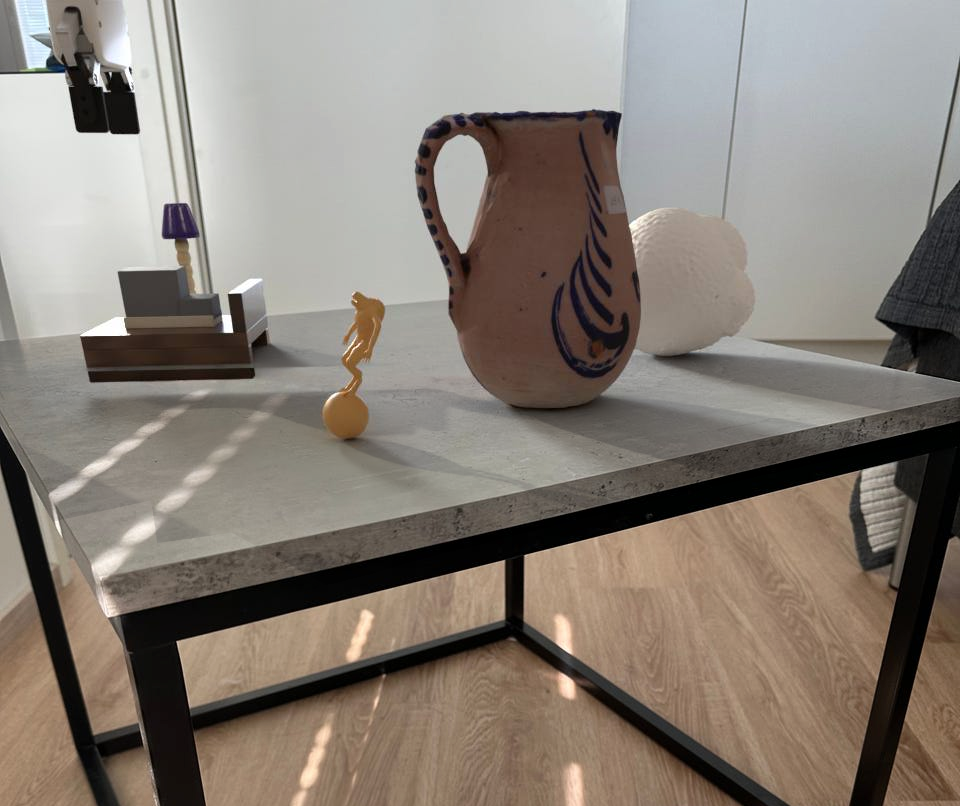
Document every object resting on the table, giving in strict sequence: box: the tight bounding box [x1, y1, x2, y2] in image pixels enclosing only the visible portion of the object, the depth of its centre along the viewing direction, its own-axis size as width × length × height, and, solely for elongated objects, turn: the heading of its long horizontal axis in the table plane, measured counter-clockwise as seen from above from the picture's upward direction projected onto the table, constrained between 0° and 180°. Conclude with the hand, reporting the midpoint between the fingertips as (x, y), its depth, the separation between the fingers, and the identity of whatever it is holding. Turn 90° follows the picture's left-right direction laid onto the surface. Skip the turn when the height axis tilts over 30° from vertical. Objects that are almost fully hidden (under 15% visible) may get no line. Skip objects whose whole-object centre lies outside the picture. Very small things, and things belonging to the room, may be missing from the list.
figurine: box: [322, 291, 386, 440], centre depth 78 cm, size 8×6×12 cm
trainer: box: [117, 265, 223, 329], centre depth 104 cm, size 10×4×6 cm, turn 91°
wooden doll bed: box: [79, 278, 271, 383], centre depth 105 cm, size 18×12×9 cm, turn 91°
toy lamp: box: [161, 202, 201, 294], centre depth 119 cm, size 5×5×17 cm
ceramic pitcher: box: [414, 108, 641, 409], centre depth 85 cm, size 18×21×25 cm
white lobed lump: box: [629, 206, 770, 357], centre depth 107 cm, size 20×18×16 cm
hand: (109, 133), depth 97 cm, fingers open, 9 cm apart
